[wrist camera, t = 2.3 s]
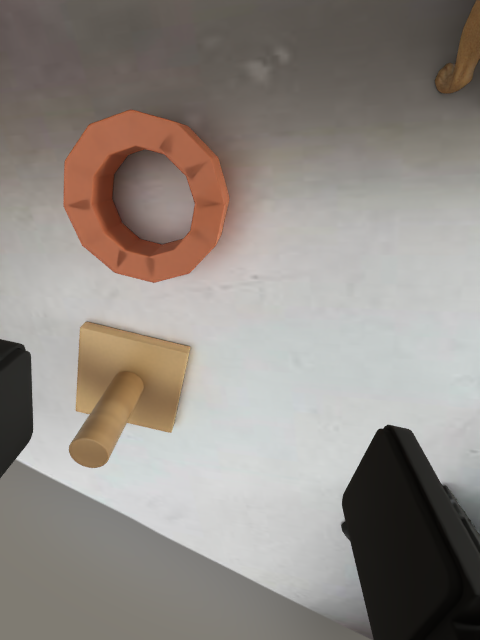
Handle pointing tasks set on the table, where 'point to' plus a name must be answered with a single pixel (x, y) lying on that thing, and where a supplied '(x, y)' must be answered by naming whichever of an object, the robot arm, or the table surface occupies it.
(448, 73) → the lion figurine
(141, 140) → the ring
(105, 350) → the ring stand
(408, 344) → the table surface
